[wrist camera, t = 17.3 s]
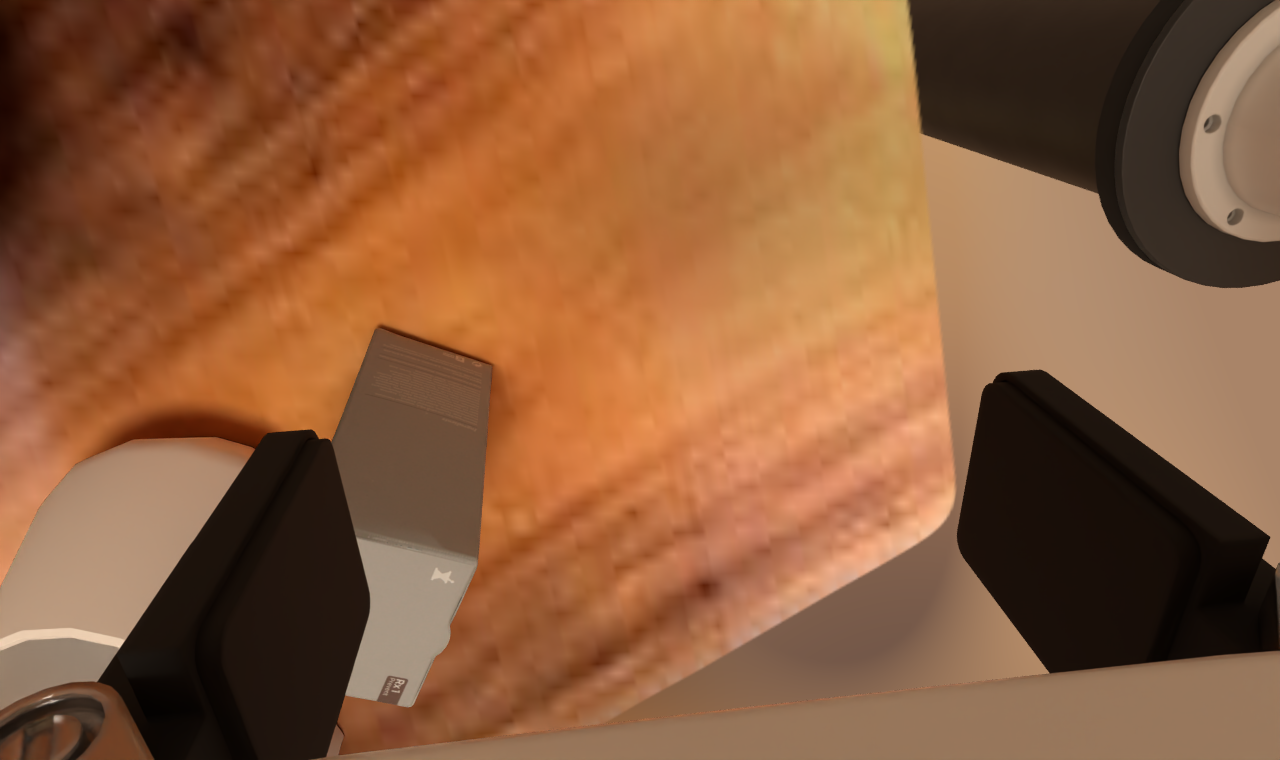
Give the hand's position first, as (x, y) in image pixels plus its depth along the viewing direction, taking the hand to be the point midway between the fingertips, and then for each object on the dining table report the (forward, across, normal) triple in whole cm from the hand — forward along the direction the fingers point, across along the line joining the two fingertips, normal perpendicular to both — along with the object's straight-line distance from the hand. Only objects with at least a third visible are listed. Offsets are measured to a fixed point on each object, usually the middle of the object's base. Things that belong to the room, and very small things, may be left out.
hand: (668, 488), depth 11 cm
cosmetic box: (+28, +10, +13) cm, 33 cm away
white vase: (+28, +22, +18) cm, 40 cm away
